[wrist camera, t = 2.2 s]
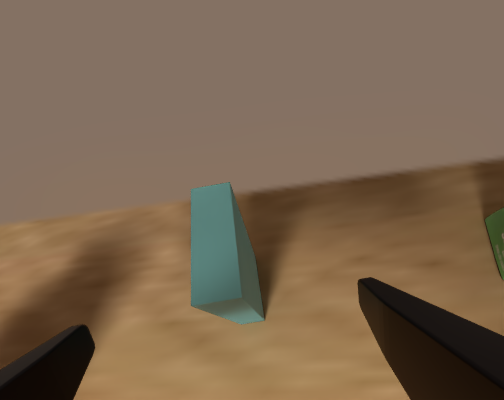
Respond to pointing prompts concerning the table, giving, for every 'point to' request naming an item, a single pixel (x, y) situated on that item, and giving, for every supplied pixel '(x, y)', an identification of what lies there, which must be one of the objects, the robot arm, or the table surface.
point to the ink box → (497, 236)
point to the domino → (222, 257)
